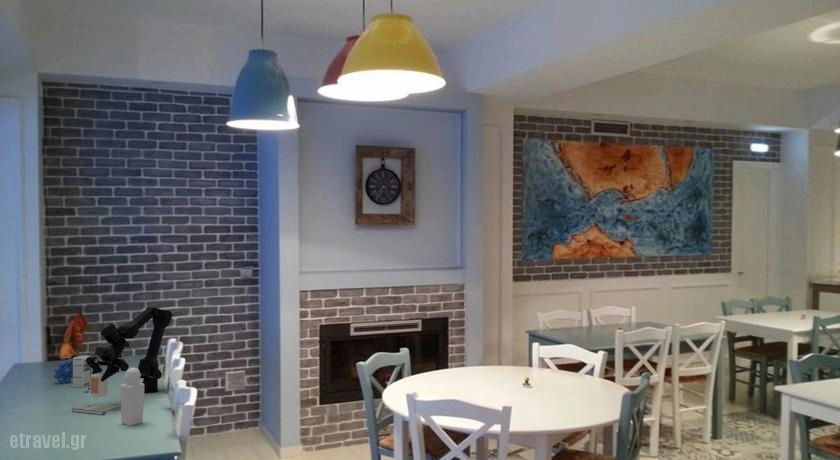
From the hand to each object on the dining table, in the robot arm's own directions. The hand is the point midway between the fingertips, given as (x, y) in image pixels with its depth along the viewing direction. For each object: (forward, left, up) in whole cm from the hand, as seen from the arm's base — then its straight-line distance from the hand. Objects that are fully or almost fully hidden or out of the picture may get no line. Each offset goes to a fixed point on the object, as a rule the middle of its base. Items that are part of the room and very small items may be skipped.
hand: (96, 380), depth 275 cm
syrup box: (+12, -48, -13) cm, 51 cm away
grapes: (+20, -58, -13) cm, 63 cm away
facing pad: (-1, -1, -13) cm, 13 cm away
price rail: (+2, +3, -12) cm, 13 cm away
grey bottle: (-16, +24, -13) cm, 31 cm away
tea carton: (-1, -1, -7) cm, 7 cm away
